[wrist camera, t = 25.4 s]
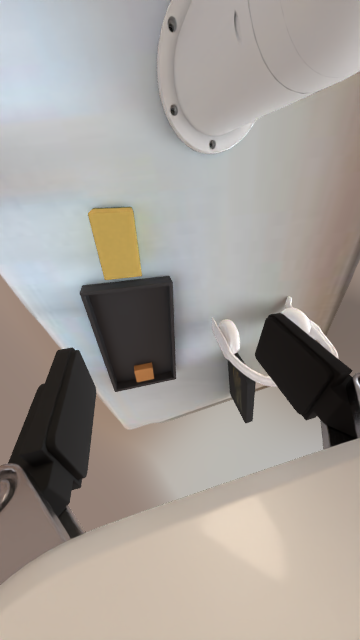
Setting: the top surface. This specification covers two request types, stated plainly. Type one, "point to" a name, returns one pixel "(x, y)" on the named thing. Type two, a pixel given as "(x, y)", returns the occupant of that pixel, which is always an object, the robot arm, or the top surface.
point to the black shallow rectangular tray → (133, 328)
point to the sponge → (116, 241)
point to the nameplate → (242, 391)
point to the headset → (231, 340)
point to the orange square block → (144, 372)
